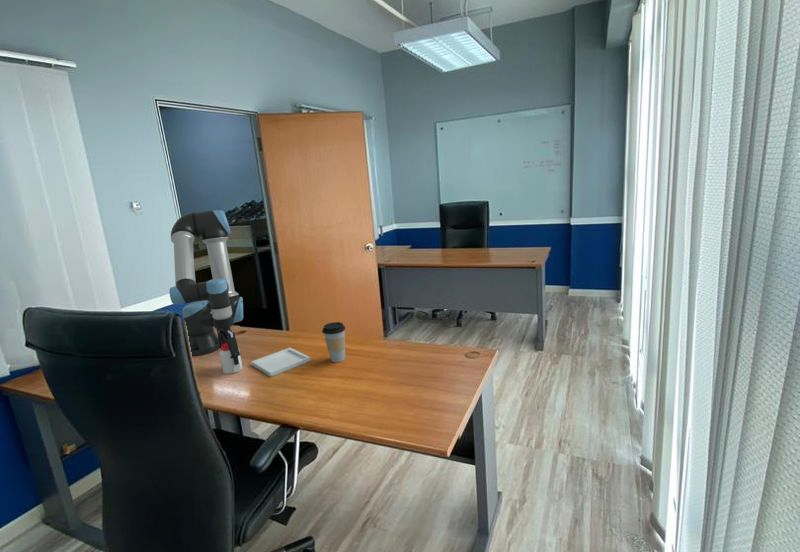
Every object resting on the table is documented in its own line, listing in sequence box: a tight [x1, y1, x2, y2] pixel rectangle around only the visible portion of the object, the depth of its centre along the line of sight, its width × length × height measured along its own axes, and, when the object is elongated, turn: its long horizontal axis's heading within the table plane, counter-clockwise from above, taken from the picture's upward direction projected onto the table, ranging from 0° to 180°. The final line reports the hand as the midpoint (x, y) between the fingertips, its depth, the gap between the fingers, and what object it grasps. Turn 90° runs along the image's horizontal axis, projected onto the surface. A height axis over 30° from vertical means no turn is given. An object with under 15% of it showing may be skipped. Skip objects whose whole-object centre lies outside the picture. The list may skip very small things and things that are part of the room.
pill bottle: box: [218, 343, 243, 375], centre depth 176 cm, size 8×8×11 cm
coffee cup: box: [322, 321, 346, 363], centre depth 175 cm, size 9×9×15 cm
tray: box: [250, 347, 312, 378], centre depth 178 cm, size 18×18×2 cm
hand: (232, 368), depth 177 cm, fingers open, 9 cm apart
